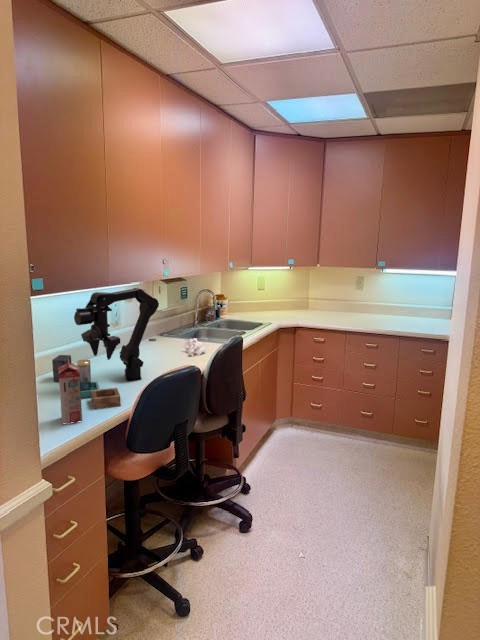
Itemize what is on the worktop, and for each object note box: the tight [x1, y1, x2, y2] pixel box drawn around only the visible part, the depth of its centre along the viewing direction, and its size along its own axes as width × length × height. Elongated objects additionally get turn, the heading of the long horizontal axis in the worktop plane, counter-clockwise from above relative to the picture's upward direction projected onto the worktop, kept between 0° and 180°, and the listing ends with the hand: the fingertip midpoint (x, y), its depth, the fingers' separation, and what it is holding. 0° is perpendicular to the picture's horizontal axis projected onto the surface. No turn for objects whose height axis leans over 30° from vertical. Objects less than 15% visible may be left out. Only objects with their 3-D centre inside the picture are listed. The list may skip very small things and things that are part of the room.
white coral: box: [182, 337, 207, 357], centre depth 243 cm, size 12×9×10 cm
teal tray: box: [81, 381, 101, 400], centre depth 179 cm, size 11×11×3 cm
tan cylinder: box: [76, 359, 92, 391], centre depth 178 cm, size 5×5×13 cm
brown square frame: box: [90, 387, 122, 410], centre depth 170 cm, size 10×10×4 cm
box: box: [51, 354, 72, 383], centre depth 195 cm, size 8×6×11 cm
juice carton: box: [58, 358, 83, 425], centre depth 152 cm, size 7×7×22 cm
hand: (102, 357), depth 186 cm, fingers open, 9 cm apart
